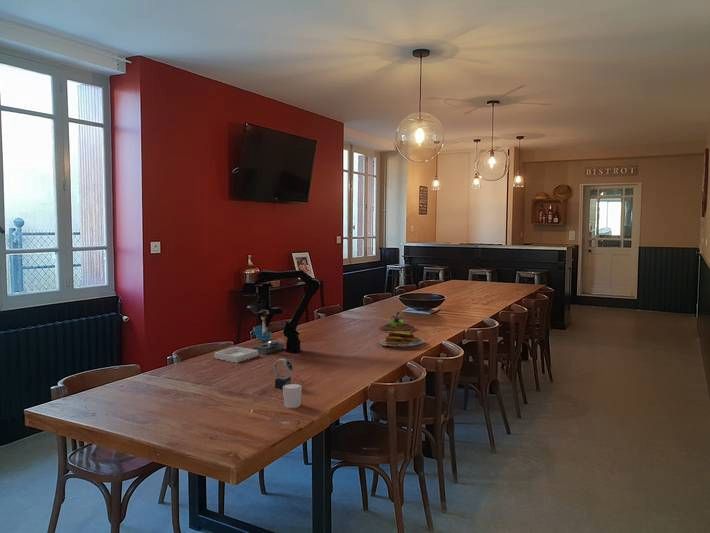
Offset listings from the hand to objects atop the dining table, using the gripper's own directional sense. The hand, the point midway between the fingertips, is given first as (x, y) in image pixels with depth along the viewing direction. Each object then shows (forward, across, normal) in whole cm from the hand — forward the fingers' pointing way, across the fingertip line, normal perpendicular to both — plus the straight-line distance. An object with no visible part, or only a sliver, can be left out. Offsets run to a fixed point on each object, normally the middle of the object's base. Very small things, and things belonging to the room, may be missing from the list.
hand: (264, 326), depth 271 cm
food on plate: (+13, +52, +50) cm, 73 cm away
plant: (+13, +31, +86) cm, 92 cm away
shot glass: (+13, +61, -56) cm, 84 cm away
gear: (+13, -18, +20) cm, 30 cm away
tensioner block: (+13, 0, +3) cm, 13 cm away
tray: (+13, -4, -16) cm, 21 cm away
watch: (+13, +44, -40) cm, 61 cm away
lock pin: (+4, 0, 0) cm, 4 cm away
